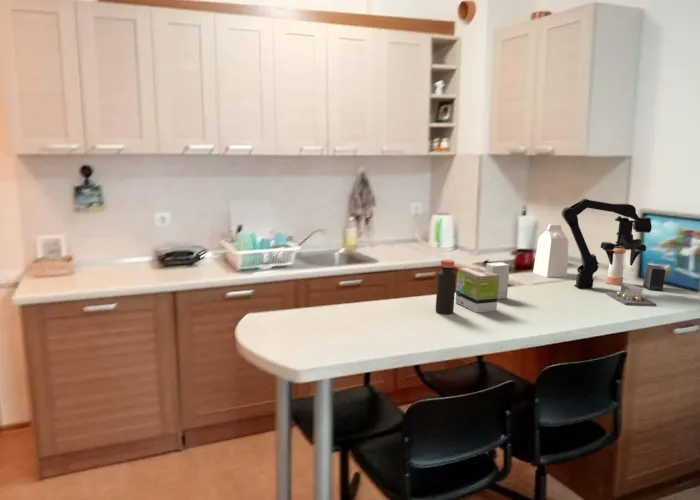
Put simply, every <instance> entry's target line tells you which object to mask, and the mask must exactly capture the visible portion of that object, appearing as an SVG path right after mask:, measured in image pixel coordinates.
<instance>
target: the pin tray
mask: <svg viewBox="0 0 700 500" xmlns="http://www.w3.org/2000/svg"><path fill="white" fill-rule="evenodd" d="M606 296H608V297H610V298H611V299H614V300H616V301H617V302H620V303H621V304H623V305H624V306H640V307H641V306H644V307H645V306H646V307H647V306H649V307H656V306H657V303H656V302H653V301H652V300H650V299H648V298H646V296H645V295H644V294H642V299H641V301H639V299H640V297H636V300H628V299H626V295H624V294H623V296H621V291H617V292H612V291H611V292H610V291H609V292H608V291H607V292H606Z"/></svg>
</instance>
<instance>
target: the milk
mask: <svg viewBox="0 0 700 500" xmlns="http://www.w3.org/2000/svg"><path fill="white" fill-rule="evenodd" d="M535 251H536V252H535V257H534V258H535V259H534V264H533V269H532V270H533V271H532V273H533V274H536V275H540V276H541V277H545V278H560V277H563V278H564V277H565V278H566V277H567V276H568V260H569V259H568V257H569V239H568V237H567V235H566V234H565V232H564V230H562V225H561V224H557V223H556V224H551V223H548V226H547V228H546V230H545V231H543V233H541V234H540V236H539V237H538V239H537V246H536V250H535Z"/></svg>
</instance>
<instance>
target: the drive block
mask: <svg viewBox="0 0 700 500" xmlns="http://www.w3.org/2000/svg"><path fill="white" fill-rule="evenodd" d="M620 286H621V287H620V292H621V296H623V294H624V295H626V299H628V300H636V297H640V299H639V301H641V299H642V295H643V290H644V289H643V288H641V287H639V286H637V285H634V284H632V283H631V284H630V283H622V284H621V285H620Z"/></svg>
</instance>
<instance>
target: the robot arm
mask: <svg viewBox="0 0 700 500" xmlns="http://www.w3.org/2000/svg"><path fill="white" fill-rule="evenodd" d="M587 209H591V210H592V209H593V210H597V211H598V210H600V211H604V212H611V213H614V214H617V215H618V216H617V217H616V218H615V219H614V221H616V222H618V229H617V230H618V231H617V232H616V235H617V239H616V241H615V243H613V242H611V241H609V242H608V241H602V242H601V243H600V249H602V250H604V251H605V253H606V255H607V258H608V261H609V265H610V264H611V265H612V263H613V253H614V252H615V251H614V250H613V249H614V248H624V249H626V251H629V250H630V257H629V258H630V259H629V265H630V266H633V265H634V263H635V261H636V258H637V257H638V256H639V255H640V254H642V253H644V252H646V251H647V246H646V244H644V243H642V239H640V238H634V234H632V233H633V230H634V231H635V233H645V234H647V233H648V234H650V233H651V231H652V227H653V226H652V219H651V217H640V216H639V214H637V209H636V207H635V206H634V205H633V204H629V203H610V202H605V201H598V200H594V199H593V200H592V199H587V198H582V199H581V200H579V202H577V203H575V204H572V205H570V206H567V207H564V208H563V209H562V210H561V216H562V219H563V220H564V222H565V223H566V224H567V225H568V227H569V229H570V231H571V232H570V233H572V236H573V239H574V241H575V244H576V246H577V248H578V251H579V253H580V257H581V258H580V259H581V265H579V266H578V267H577V268H576V269H577V270H576V271H577V274H576V280H575V281H576V282H575V284H574V285H573V286H574V287H575V288H578V289H579V290H585V289H586V290H594V286H593V285H594V277H593V276H594V273H596V272H598V269H599V265H600V262H598V259H597V255H595V254H594V253H591V252H590V250H589V247H588V245H587V242H586V240H585V237H584V235H583V233H582V230H581V228H580V225H579V218H578V215H580V214H581V213H583V212H584V211H585V210H587ZM622 216H623V217H622Z"/></svg>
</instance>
